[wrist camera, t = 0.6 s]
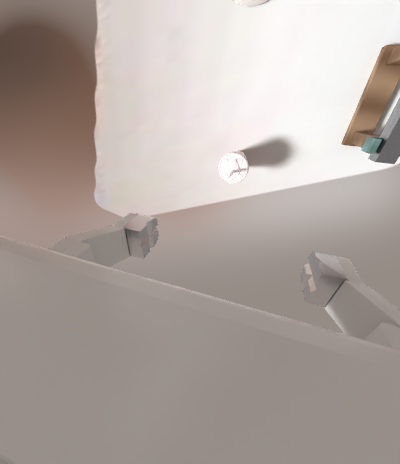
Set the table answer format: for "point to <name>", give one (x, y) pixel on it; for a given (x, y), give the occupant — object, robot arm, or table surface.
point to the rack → (374, 100)
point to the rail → (389, 139)
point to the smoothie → (233, 167)
